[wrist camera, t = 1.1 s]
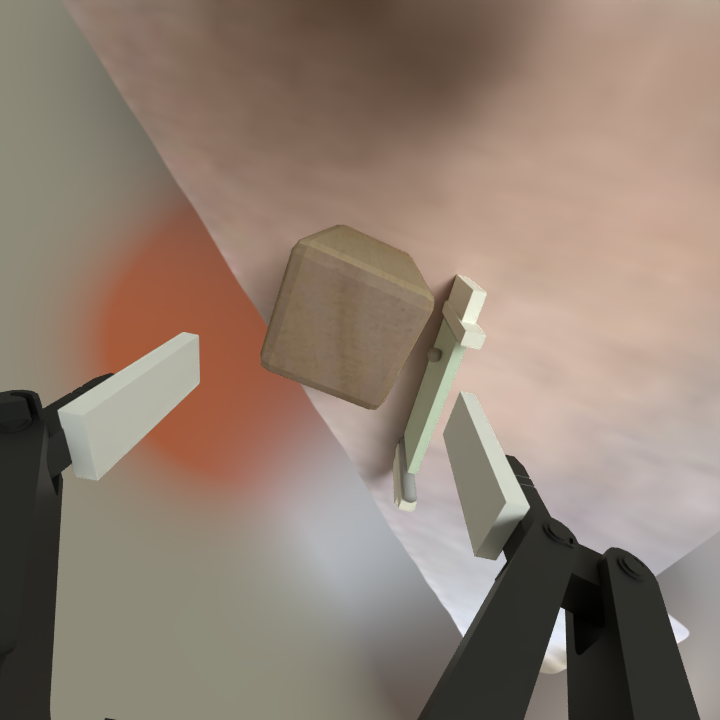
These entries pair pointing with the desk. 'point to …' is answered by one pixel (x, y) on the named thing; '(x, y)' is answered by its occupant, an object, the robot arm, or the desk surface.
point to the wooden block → (346, 316)
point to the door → (432, 394)
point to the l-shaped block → (462, 321)
